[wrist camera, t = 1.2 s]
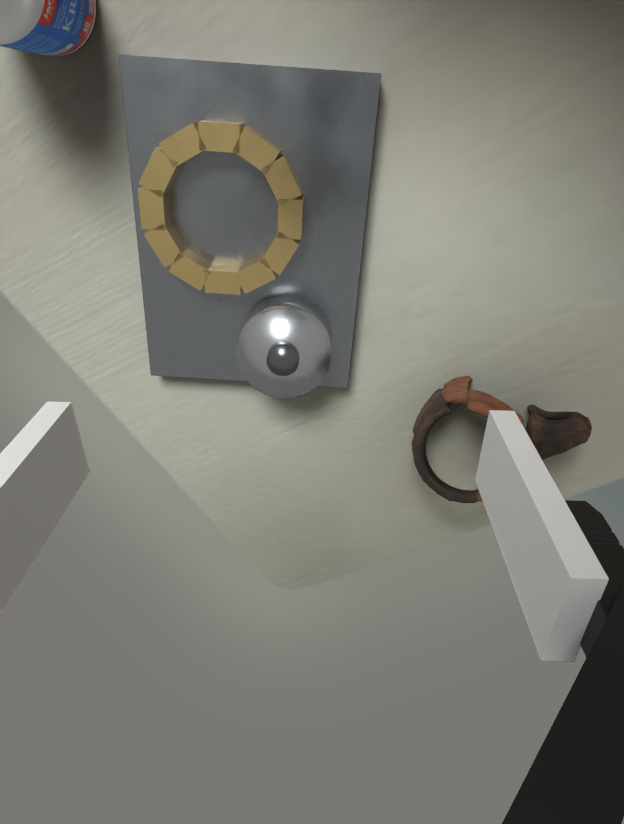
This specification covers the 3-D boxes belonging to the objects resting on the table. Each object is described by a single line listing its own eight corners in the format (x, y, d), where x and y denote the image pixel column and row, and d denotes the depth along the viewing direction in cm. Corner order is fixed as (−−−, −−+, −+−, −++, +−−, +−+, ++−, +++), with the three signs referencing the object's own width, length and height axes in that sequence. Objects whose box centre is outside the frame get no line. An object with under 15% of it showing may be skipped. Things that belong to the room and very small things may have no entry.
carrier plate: (128, 56, 30) (91, 49, 25) (378, 74, 30) (388, 70, 25) (157, 365, 39) (134, 401, 35) (346, 377, 40) (349, 414, 35)
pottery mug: (452, 493, 46) (427, 530, 38) (414, 388, 45) (381, 406, 38) (606, 458, 40) (611, 494, 33) (564, 338, 39) (559, 347, 32)
